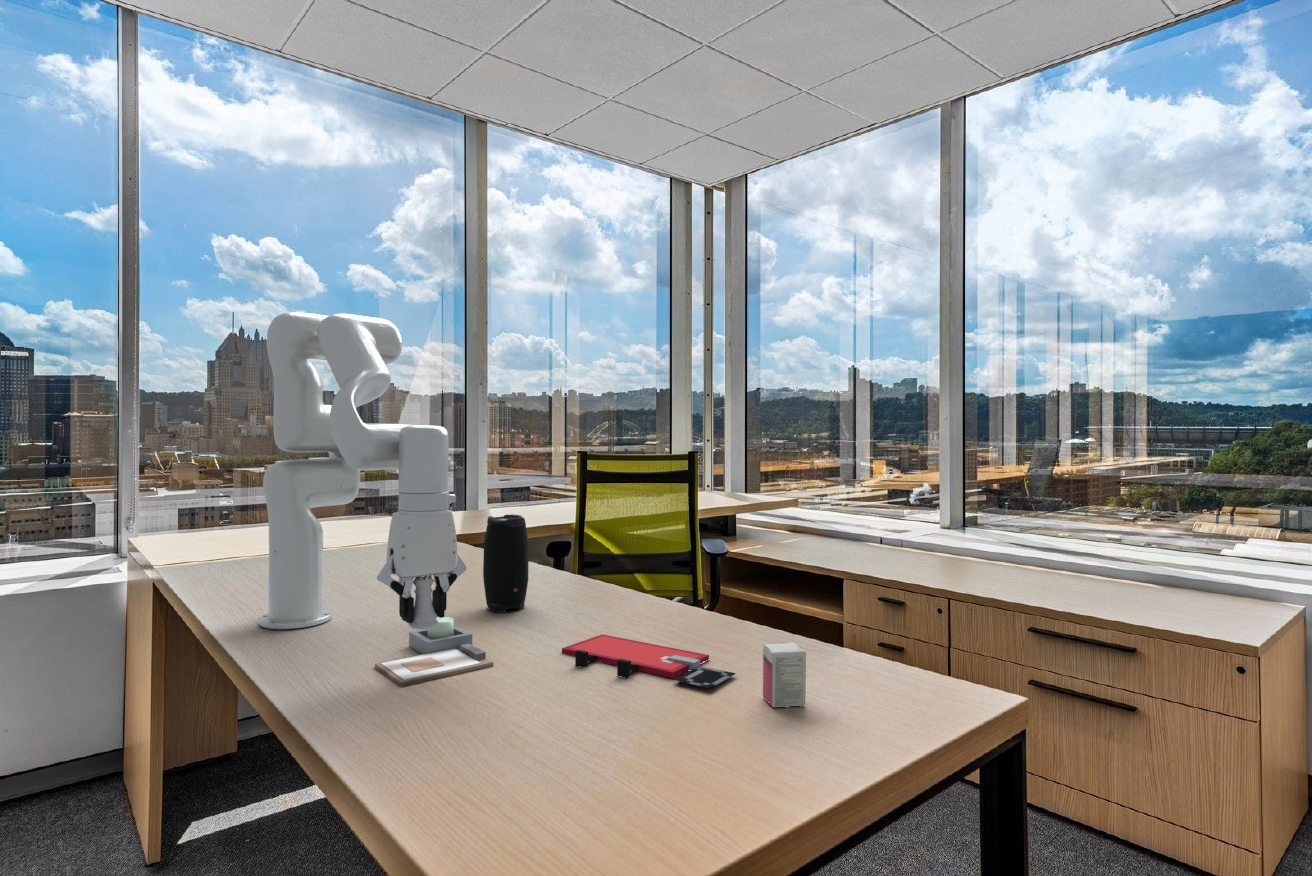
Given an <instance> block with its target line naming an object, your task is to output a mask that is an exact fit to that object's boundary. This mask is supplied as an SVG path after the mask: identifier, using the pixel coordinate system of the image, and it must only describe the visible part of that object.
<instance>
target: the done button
mask: <svg viewBox="0 0 1312 876" xmlns="http://www.w3.org/2000/svg"><path fill="white" fill-rule="evenodd" d="M436 620H437V621H438V623H437V625H436V626H435V627H432V628H428V629H427V638H428V639H430V640H434V639H440V638H445V637H450V636H454V625H455V619H454V618H453V617H448V616H444V617H443V618H440V617H437V618H436Z"/></svg>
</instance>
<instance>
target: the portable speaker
mask: <svg viewBox="0 0 1312 876" xmlns="http://www.w3.org/2000/svg"><path fill="white" fill-rule="evenodd" d="M486 523H487V524H486V525H487V526H486V530H485V535H484V541H483V563H482V564H483V569H482V572H483V573H482V578H483V587H484V594H485V595H484V596H485V600H486V601H485V602H486V606H487V608H488V611H489V612H492V613H506V610H507V609H514V608H516V609H517V610H518V611H521V610H524V609H525V601H526V599H527V598H526V596H527V591H528V585H529V548H530V547H529V537H528V531H527V525H526V523H527V522H526V519H525V517H523V516H522V515H520V514H504V515H503V516H493V515H490V516H488V517H487V521H486Z"/></svg>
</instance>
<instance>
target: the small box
mask: <svg viewBox="0 0 1312 876" xmlns="http://www.w3.org/2000/svg"><path fill="white" fill-rule="evenodd" d="M762 645H763V647H762V651H763V654H762V655H763V657H762V658H763V659H762V661H763V662H762V698H763V697H764V698H765V699H766V701H767V702H769V704H770V705H771V706H772V707H786V706H800V707H805V706H806V683H807V682H806V681H807V680H806V678H807V675H806V674H807V652H806V650H804V649H803V648H802V647H801V646H800V645H799V644H797V643H796V642H787V643H769V644H766V643H765V644H762ZM764 698H763V699H764ZM765 699H764V700H765ZM766 701H765V702H766ZM767 702H766V703H767ZM769 704H768V705H769ZM770 705H769V706H770ZM804 705H805V706H804ZM771 706H770V707H771ZM786 708H787V707H786Z"/></svg>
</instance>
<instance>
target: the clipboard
mask: <svg viewBox="0 0 1312 876" xmlns="http://www.w3.org/2000/svg"><path fill="white" fill-rule="evenodd" d="M486 654H487V652H486V651H484V650H482V649H480V648H478V647H476V646H475V645H473V644H472V645H471V644H465V645H460V648H454V649H449V650H444V651H439V652H434V653H429V654H427V653H425V654H421V653H420V654H416V655H411V656H410V655H409V656H407V657H401V658H395V659H391V660H387V661H381V662H376V663H374V668H375V669H376V670H378V671H379V672H380V673H382V674H384V675H385V676H386V677H387V678H389V679H390V680H392V681H393V682H395V683H396V684H397V685H399V686H400V687H401V688H402V687H405V686H410V685H414V684H419V683H423V682H428V681H431V680H432V681H433V680H436V679H442V678H446V677H449V676H454V675H458V674H464V673H467V672H471V671H472V670H473V671H476V670H482V669H485V668H490V667H494V661H492V660H490V659H488V658H487V657H486Z"/></svg>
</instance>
